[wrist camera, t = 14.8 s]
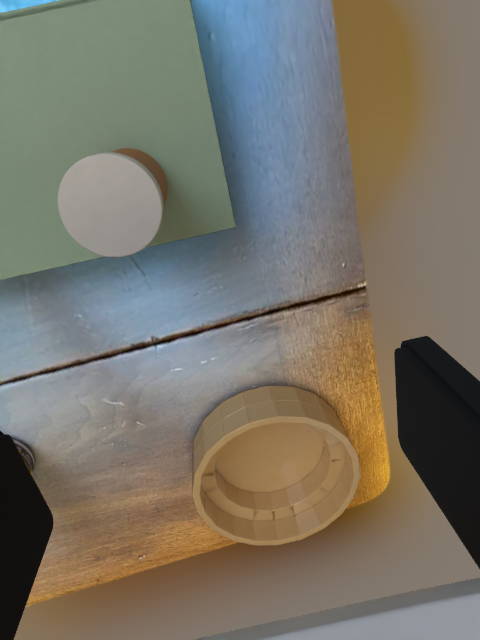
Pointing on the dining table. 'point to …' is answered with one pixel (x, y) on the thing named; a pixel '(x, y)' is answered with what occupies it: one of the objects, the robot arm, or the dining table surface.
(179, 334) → the dining table surface
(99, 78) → the book
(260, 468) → the beige round dish
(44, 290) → the dining table surface
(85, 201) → the pill bottle
